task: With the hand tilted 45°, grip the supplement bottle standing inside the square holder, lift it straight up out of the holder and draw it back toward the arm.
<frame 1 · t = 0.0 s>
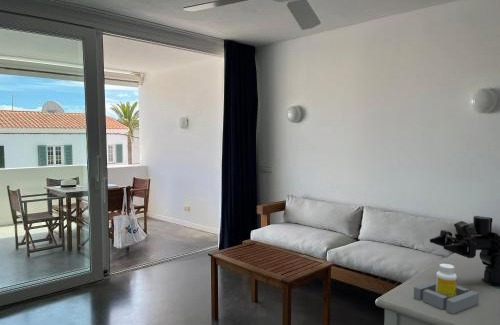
hand: (436, 243, 152), 17 cm above the table, tool horizontal, fingers open, 9 cm apart
cup holder: (445, 300, 139), on the table
supplement bottle: (445, 301, 139), resting in cup holder
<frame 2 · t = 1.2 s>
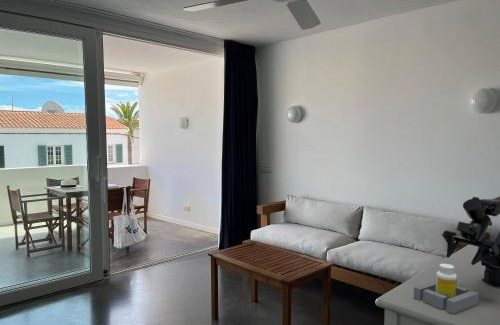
hand: (459, 260, 142), 13 cm above the table, tool tilted 45°, fingers open, 9 cm apart
nothing on the table moved.
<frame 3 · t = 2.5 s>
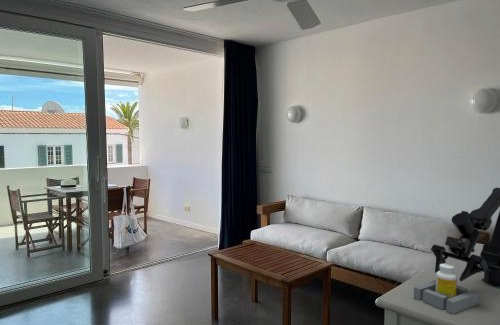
hand: (447, 276, 139), 9 cm above the table, tool tilted 45°, fingers open, 9 cm apart
nothing on the table moved.
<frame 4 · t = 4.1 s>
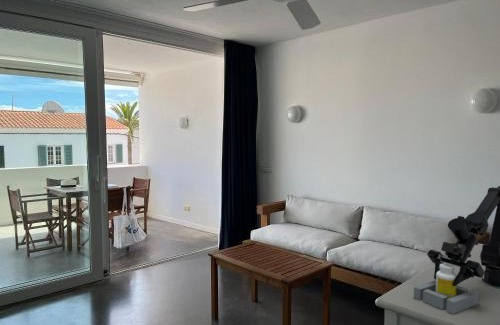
hand: (443, 282, 138), 7 cm above the table, tool tilted 45°, fingers closed on supplement bottle, 7 cm apart
supplement bottle: (445, 301, 139), resting in cup holder, touching gripper
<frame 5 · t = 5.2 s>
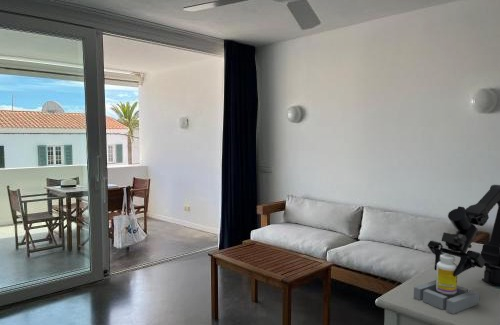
hand: (444, 272, 138), 11 cm above the table, tool tilted 45°, fingers closed on supplement bottle, 7 cm apart
supplement bottle: (446, 292, 139), point 3 cm above the table, touching gripper
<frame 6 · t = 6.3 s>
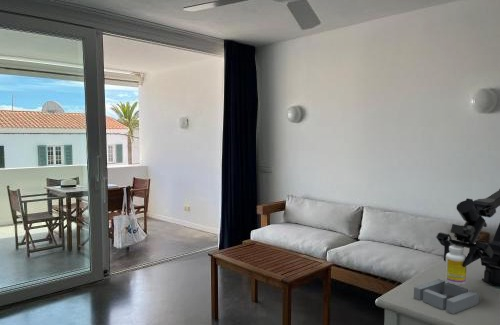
hand: (453, 263, 141), 13 cm above the table, tool tilted 45°, fingers closed on supplement bottle, 7 cm apart
supplement bottle: (455, 282, 142), point 6 cm above the table, touching gripper
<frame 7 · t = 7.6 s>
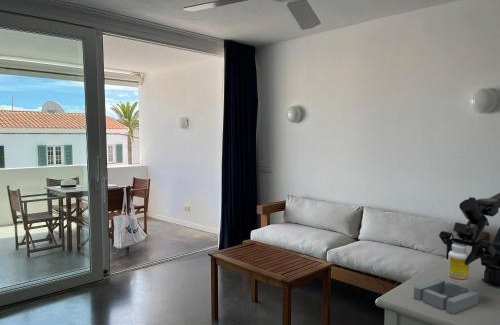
hand: (456, 261, 141), 13 cm above the table, tool tilted 45°, fingers closed on supplement bottle, 7 cm apart
supplement bottle: (457, 280, 143), point 6 cm above the table, touching gripper
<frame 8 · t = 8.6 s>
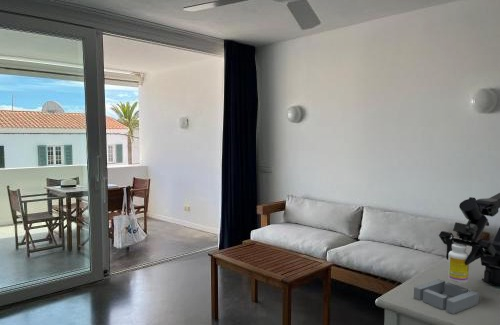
hand: (456, 261, 141), 13 cm above the table, tool tilted 45°, fingers closed on supplement bottle, 7 cm apart
supplement bottle: (457, 280, 143), point 6 cm above the table, touching gripper
at the end: the gripper is holding supplement bottle; supplement bottle point 6.0 cm above the table; supplement bottle touching gripper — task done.
